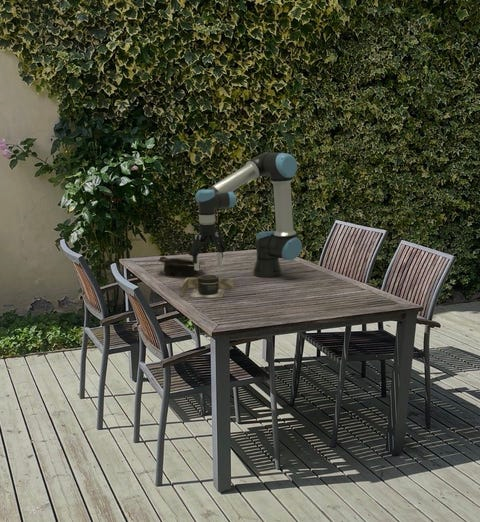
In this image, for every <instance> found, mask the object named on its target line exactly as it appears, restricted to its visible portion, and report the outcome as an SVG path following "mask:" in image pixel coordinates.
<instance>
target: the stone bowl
mask: <svg viewBox="0 0 480 522" xmlns="http://www.w3.org/2000/svg"><path fill="white" fill-rule="evenodd" d="M159 262H160V263H164V265H163V272H164V274H165V276H176V275H178V274H180V276H181V277H183V276H185V277H186V278H188V277H190V276H191V277H192V276H195V275H197V274H198V272H199V271H197V270H194V263H193V259H189V258H182V257H181V258H180V257H175V258H174V257H173V258H168V257H166V256H160V257H159V260H158V263H159ZM205 265H206V262H204V261H201V260H199V269H200V268H201V266H205ZM187 276H188V277H187ZM185 277H184V278H185Z"/></svg>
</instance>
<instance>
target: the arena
mask: <svg viewBox="0 0 480 522" xmlns="http://www.w3.org/2000/svg"><path fill="white" fill-rule="evenodd" d="M189 289H193V290H192V292H191V293H190V295H189V298H202V297H205V299H206V298H209V299H212V298H213V299H215V298H216V299H222V298H223V296H224V294H225V292H226V290H234V278H228V277H227V278H224V277H220V278H219V290H218V293H217V294H213V295H203V294H200V293H199V291H198V277H186V278H184V280H183V282H182V283H181V284H180V286H179V298H183V297H184V295H185V294H186V292H187V291H188V290H189ZM186 290H187V291H186ZM184 293H185V294H184ZM182 296H183V297H182Z"/></svg>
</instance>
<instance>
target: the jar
mask: <svg viewBox="0 0 480 522" xmlns="http://www.w3.org/2000/svg"><path fill="white" fill-rule="evenodd" d="M197 278H198V288H197V289H198V291H199V293H200V294H203V295H213V294H217V293H218V290H219V276H217V275H211V274H206V275H205V274H204V275H200V276H197Z"/></svg>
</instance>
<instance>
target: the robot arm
mask: <svg viewBox="0 0 480 522" xmlns="http://www.w3.org/2000/svg"><path fill="white" fill-rule="evenodd" d="M297 172H298V162H297V160H296V158H295V157H294V155H292V154H291V153H286V152H265V153H261V154H259V155H257V156H255V157H253V158H251V159H250V160H248V161H247V162H246V163H245V165H243V166H242V167H240V168H239V169H237V170H236V171H234V172H233V173H230V174H229V175H228V176H226V177H225V178H223V179H220V180H219V181H218V182H216V183H215V184H213V185H212V186H209V187H208V188H207V189H199V190H197V192H196V194H195V197H194V198H195V199H194V200H195V202H196V203H197V204H198V223H199V224H198V225H199V226H198V227H199V228H198V231H199V234H194V236H193V241H192V244H191V247H190V250H189V253H188V255H189V256H191V257H192V260H193V263H194V270H197V271H198V272H199V271H200V268H199V261H200V257H199V254H200V252H201V251H202V249H203V247H204V246H205V245H206V244H211V243H212V245H213V246H214V247H215V248H216V249H217V252H216V262H217V263H216V264H217V267H218V266H219V267H222V266H223V259H224V254H223V253H225V251H226V250H227V247H226V244H225V243H224V241H223V238H222V234H221V233H222V232H221V231H216V210H222V209H223V210H224V209H229V208H234V207H236V205H237V197H236V195H235V193H234V191H235V190H237V189H239V188H240V187H241V186H243V185H245V184H246V183H248V182H250V181H251V180H253V179H255V180H256V179H258V178H261V177H263V176H264V177H265V176H269V181H270V182H271V183H272V187H273V196H274V197H273V198H274V213H275V214H274V216H275V230H269V231H260V232H258V233H256V261H255V264H254V268H253V269H252V271H253V272H252V273H253V274H252V275H253V276H255V277H259V278H277V277H281V276H282V274H283V270H282V268H281V267H282V266H281V265H280V261H279V259H283V260H284V261H285V260H289V261H294V260H295V259H297V258H298V257H299V255H300V254H301V252H302V247H303V244H302V241H301V240H300V238H298V237H297V231H296V230H294V219H293V206H292V205H293V204H292V189H291V183H292V181H293V180H294V176H296V173H297Z"/></svg>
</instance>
